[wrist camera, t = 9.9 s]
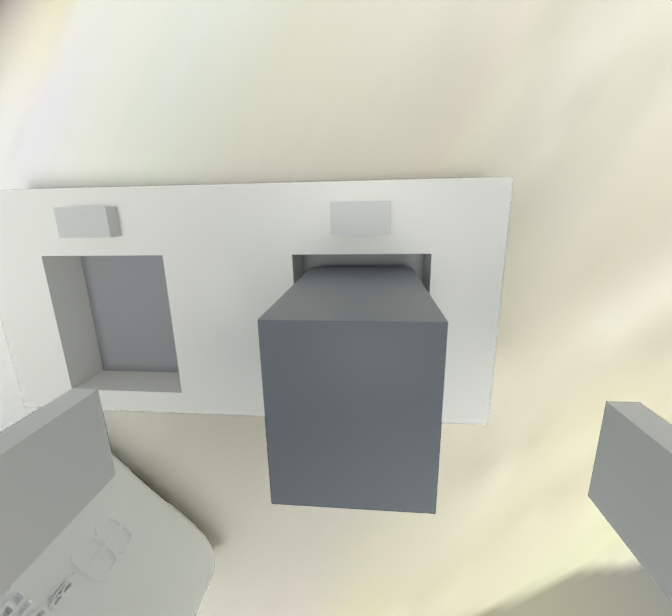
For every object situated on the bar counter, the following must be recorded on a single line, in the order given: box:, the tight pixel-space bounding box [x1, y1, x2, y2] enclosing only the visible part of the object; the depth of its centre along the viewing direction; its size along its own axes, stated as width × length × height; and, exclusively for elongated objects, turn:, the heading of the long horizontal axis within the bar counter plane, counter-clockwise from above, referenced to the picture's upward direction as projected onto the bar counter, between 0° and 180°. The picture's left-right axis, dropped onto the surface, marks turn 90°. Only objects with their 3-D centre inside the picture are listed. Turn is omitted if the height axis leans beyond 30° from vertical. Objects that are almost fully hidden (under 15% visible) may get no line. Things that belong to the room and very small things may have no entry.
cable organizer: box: [0, 453, 215, 616], centre depth 22 cm, size 15×11×12 cm
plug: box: [257, 267, 448, 514], centre depth 15 cm, size 5×6×10 cm
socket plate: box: [0, 177, 513, 425], centre depth 20 cm, size 26×12×4 cm, turn 91°
